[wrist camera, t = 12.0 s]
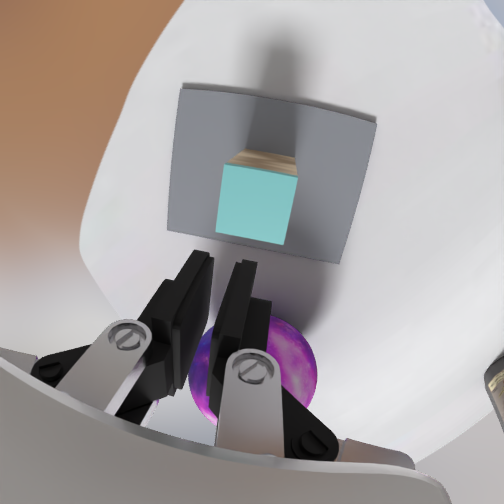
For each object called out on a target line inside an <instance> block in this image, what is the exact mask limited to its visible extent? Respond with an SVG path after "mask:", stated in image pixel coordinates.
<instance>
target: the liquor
mask: <svg viewBox="0 0 504 504" xmlns="http://www.w3.org/2000/svg"><path fill="white" fill-rule="evenodd" d="M484 381H485V389H486V391H487V393H488V395H489V398H490V400H491V402H492V405H493V407H494V409H495V411H496V414H497V417H498V419H499V421H500V424H501V427H502V429H503V432H504V356H503V357H502V358H501V359H499V360H498V361H496V362H495V363H494V364H492V365H491V366H490V367H489V369H488V370H487V371H486V373H485V374H484Z"/></svg>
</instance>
